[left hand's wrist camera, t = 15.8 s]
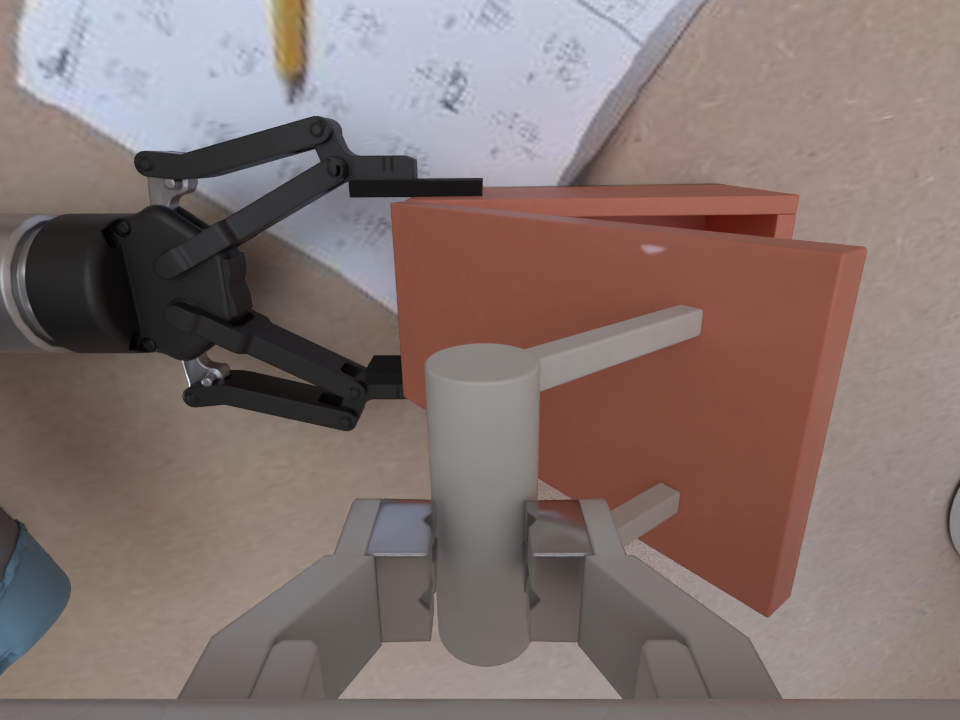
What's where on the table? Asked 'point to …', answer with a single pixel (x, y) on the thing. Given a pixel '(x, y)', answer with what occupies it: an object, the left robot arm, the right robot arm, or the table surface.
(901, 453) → the table surface
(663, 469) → the lid
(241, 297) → the right robot arm
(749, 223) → the chest
